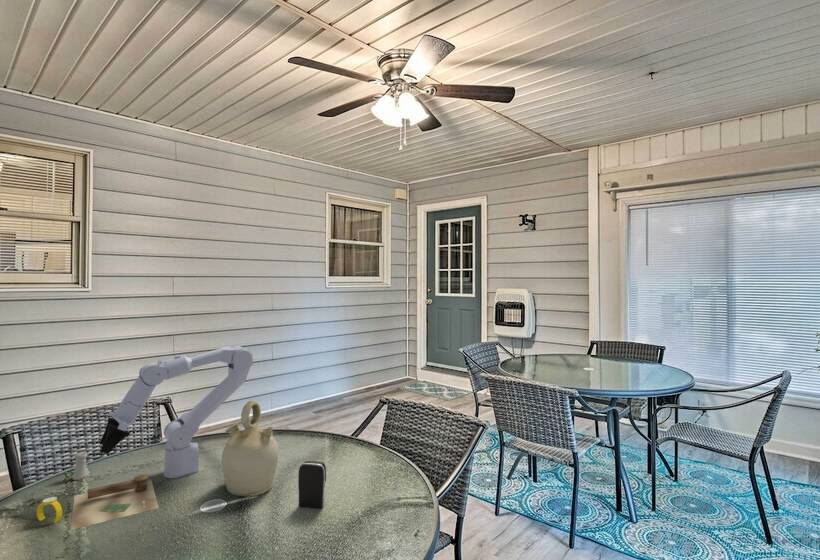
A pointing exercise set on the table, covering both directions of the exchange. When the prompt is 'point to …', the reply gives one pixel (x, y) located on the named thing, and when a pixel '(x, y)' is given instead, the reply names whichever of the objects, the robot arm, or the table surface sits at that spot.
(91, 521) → the tan wooden board
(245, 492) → the jug
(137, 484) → the peg lever
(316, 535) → the table surface
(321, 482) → the battery charger
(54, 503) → the watch
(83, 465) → the rook chess piece
